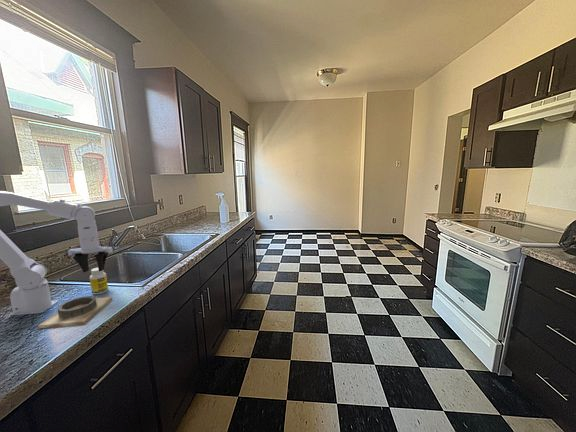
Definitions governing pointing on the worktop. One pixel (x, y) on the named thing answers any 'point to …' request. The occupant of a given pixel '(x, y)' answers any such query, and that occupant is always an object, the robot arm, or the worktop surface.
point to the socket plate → (76, 319)
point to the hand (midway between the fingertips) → (93, 270)
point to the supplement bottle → (98, 281)
